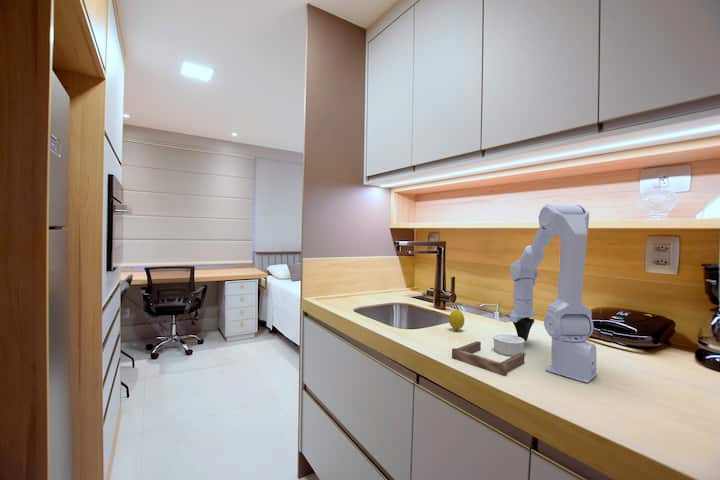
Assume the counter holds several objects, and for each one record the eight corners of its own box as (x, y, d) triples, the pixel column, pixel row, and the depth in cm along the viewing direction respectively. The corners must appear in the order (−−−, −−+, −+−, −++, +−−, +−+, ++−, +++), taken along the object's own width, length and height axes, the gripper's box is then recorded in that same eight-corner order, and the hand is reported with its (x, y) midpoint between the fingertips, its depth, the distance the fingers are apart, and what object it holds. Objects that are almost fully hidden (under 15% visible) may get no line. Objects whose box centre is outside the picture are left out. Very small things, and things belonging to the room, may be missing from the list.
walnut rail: (526, 363, 89) (526, 354, 89) (504, 375, 81) (504, 365, 81) (475, 348, 101) (475, 340, 101) (451, 357, 93) (452, 349, 93)
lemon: (462, 328, 123) (462, 308, 123) (465, 332, 117) (466, 311, 117) (447, 328, 124) (448, 307, 124) (450, 332, 118) (450, 310, 118)
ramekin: (516, 347, 102) (517, 334, 102) (529, 357, 94) (530, 343, 94) (488, 346, 103) (488, 333, 103) (498, 356, 94) (499, 342, 94)
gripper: (520, 295, 112) (520, 333, 112) (500, 299, 103) (500, 341, 103) (542, 298, 107) (541, 338, 107) (522, 303, 98) (522, 347, 98)
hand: (522, 340), depth 105 cm, fingers closed
